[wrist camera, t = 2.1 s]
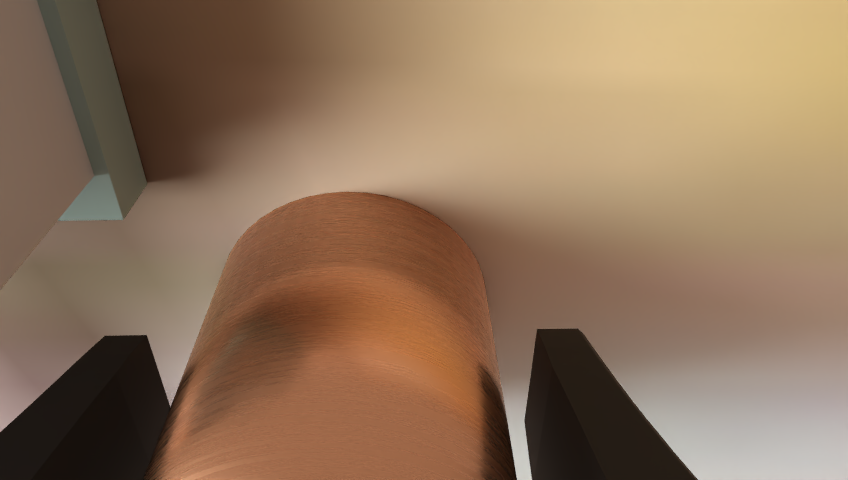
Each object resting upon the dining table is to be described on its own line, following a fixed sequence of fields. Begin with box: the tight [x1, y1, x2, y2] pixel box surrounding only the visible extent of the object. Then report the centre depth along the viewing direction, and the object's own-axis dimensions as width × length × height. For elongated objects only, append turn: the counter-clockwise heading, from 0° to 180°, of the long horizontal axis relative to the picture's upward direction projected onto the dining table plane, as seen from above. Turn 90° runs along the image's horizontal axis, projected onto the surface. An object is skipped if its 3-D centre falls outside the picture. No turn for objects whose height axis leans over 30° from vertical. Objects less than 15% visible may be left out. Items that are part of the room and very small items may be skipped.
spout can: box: [143, 192, 517, 480], centre depth 9 cm, size 5×5×6 cm
